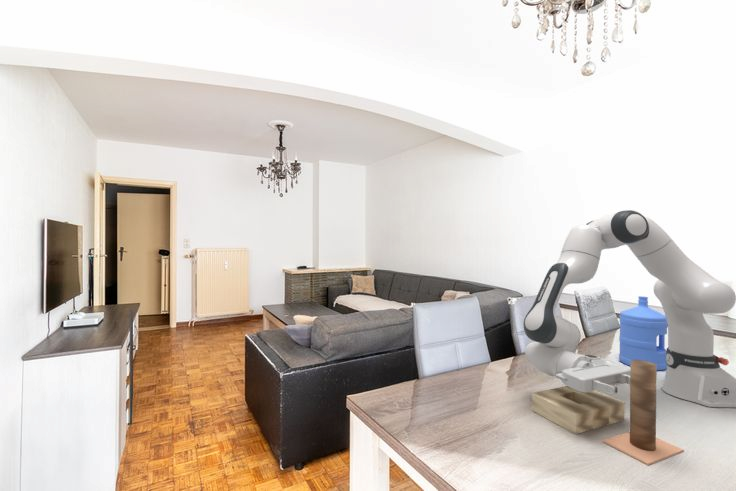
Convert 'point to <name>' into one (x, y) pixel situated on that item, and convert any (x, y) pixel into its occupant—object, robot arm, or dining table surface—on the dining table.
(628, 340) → the water jug
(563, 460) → the dining table surface
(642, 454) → the terracotta mat
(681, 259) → the robot arm
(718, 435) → the dining table surface
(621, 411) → the slotted wood base
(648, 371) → the walnut key peg
